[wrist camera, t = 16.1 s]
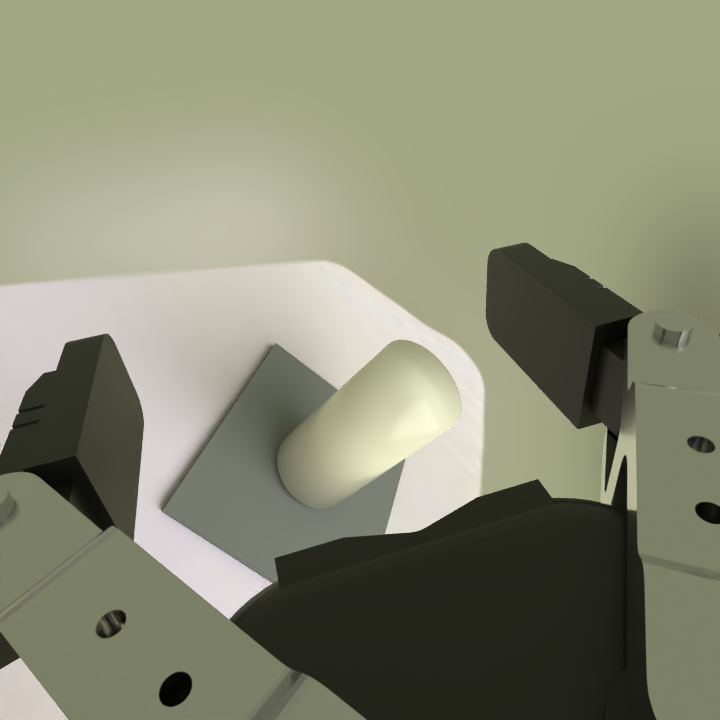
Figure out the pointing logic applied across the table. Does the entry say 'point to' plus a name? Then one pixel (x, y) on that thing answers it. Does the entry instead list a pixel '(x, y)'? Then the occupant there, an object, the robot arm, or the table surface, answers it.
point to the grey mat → (271, 476)
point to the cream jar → (369, 425)
